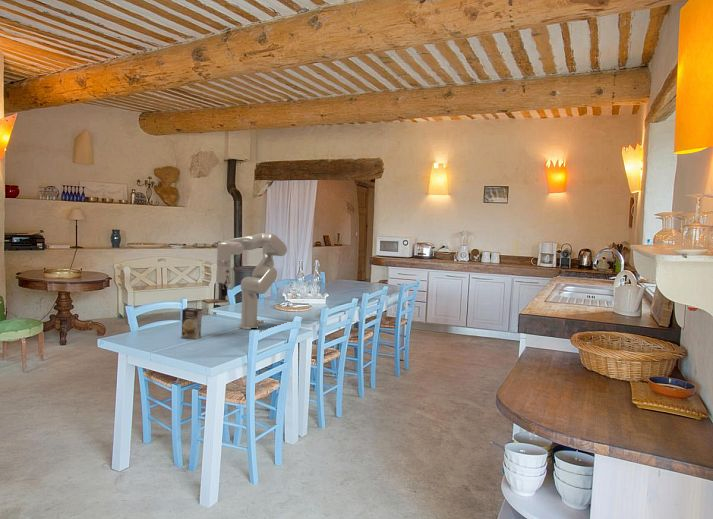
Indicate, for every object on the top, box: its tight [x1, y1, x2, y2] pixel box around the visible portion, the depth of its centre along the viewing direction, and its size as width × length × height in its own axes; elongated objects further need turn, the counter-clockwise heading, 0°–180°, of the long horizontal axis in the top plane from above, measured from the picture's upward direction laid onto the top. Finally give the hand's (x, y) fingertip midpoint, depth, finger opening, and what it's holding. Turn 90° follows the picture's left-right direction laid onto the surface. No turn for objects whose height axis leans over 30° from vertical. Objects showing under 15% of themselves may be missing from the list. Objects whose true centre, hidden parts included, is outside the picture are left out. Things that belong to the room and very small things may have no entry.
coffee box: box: [180, 307, 203, 340], centre depth 278 cm, size 9×6×16 cm
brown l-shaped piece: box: [202, 283, 229, 304], centre depth 285 cm, size 12×7×11 cm, turn 131°
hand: (222, 295), depth 288 cm, fingers closed on brown l-shaped piece, 3 cm apart
